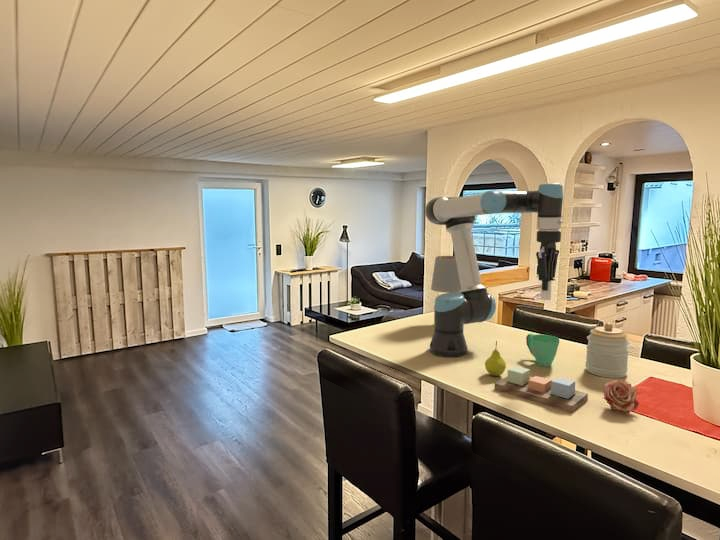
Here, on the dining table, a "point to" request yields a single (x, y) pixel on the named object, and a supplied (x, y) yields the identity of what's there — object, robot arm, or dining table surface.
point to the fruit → (495, 364)
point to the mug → (542, 348)
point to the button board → (542, 396)
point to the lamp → (446, 275)
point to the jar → (607, 352)
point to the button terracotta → (539, 384)
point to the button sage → (518, 375)
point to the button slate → (563, 387)
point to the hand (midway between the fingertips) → (545, 299)
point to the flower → (621, 396)
